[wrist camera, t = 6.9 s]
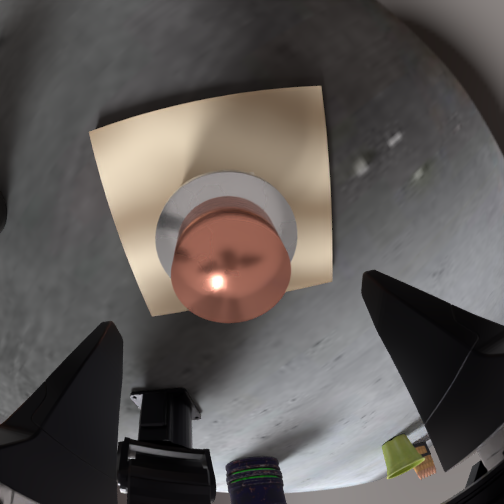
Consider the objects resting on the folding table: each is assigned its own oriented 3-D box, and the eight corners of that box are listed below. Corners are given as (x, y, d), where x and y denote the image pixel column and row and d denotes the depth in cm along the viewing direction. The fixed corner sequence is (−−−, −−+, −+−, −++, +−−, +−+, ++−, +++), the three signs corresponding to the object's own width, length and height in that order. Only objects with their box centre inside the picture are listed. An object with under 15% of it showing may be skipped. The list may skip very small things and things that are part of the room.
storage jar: (220, 460, 39) (229, 536, 26) (278, 452, 39) (295, 528, 26) (229, 474, 44) (238, 538, 31) (279, 467, 44) (293, 531, 31)
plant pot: (386, 437, 46) (399, 468, 38) (418, 425, 47) (432, 453, 40) (368, 454, 50) (379, 482, 43) (400, 443, 52) (411, 469, 44)
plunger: (284, 251, 19) (318, 322, 13) (182, 271, 19) (174, 350, 13) (272, 147, 16) (312, 176, 10) (154, 171, 16) (119, 215, 10)
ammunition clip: (403, 449, 56) (417, 481, 46) (407, 445, 56) (422, 478, 45) (420, 444, 60) (434, 474, 49) (425, 441, 59) (439, 470, 49)
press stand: (327, 274, 22) (349, 310, 18) (153, 308, 22) (145, 349, 18) (315, 86, 16) (346, 82, 12) (94, 130, 15) (62, 139, 11)
